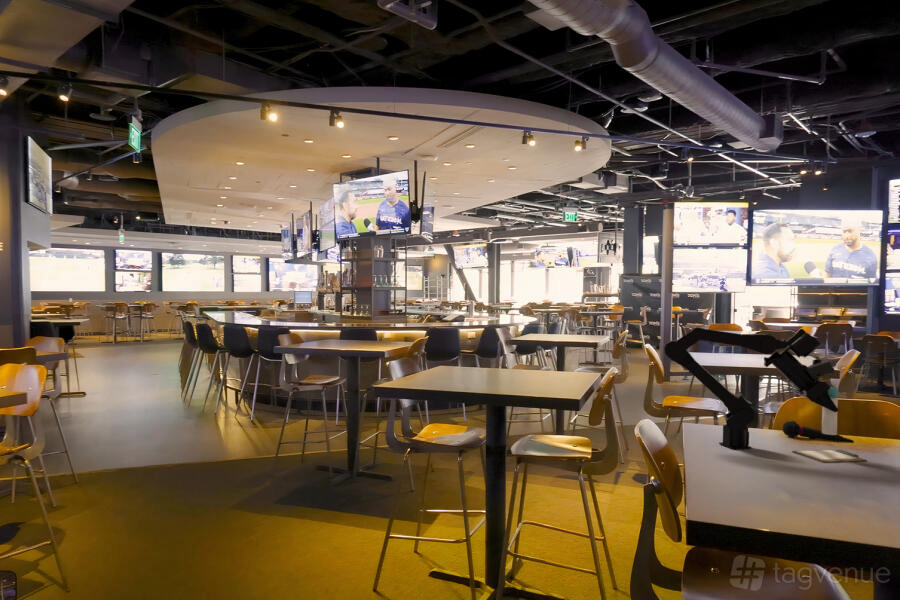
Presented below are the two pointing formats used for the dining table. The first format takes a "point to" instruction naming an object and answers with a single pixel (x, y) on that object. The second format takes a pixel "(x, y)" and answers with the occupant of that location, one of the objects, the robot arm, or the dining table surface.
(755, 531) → the dining table surface
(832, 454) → the clipboard
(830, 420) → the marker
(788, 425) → the microphone
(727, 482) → the dining table surface
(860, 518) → the dining table surface
